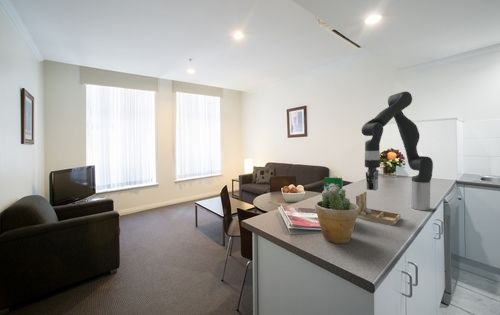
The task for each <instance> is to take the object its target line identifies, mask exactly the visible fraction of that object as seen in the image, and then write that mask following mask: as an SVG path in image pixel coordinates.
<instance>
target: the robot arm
mask: <svg viewBox="0 0 500 315" xmlns="http://www.w3.org/2000/svg"><path fill="white" fill-rule="evenodd" d="M412 102H413V95H412V94H411V93H410V92H409V91H401V92H397V93H395V94H391V95H390V96H388V98H387V105H388V107H386V108H384V109H382V110H381V111H380V112H379V113H378V114H377V115H376V116H374V117H373V118H371V119H370V120H368V121H367V122H365V123H364V124H363V125H362V127H361V133H362V135H363V136H365V137H371V136H372V137H371V139H369V140H366V141H365V143H364V167H365V168H367V171H366V172H365V178H366V179H365V180H366V183H367V182H368V186H369V191H374V190H373V180H374V179H378V180H379V172H380V171H379V169H377V168H380V167H381V151H380V144H381V140H382V136H383V133H384V127H385V126H386V125H387V124H389V122H390V121H391V120H392V119H394V121H395V123H396V126H397V129H398V132H399V135H400V138H401V140H402V144H403V147H404V150H405V154H406V158H407V163H408V166H409V168H410V169H411V170H412V171H418V174H417V175H414V176H412V177H411V209H414V210H419V211H430V209H431V182H432V178H433V170H434V161H433V159H432V158H431V157H429V156H420V155H419V154H418V150H417V149H418V148H417V146H418V143H419V141H420V132H419V129H418V126H417V125H416V124H415V122H413V121H412V120H411V119H409V117H407V116H406V114H404V113H403V110H405V109H406V108H408V107H409V106H411V105H412Z"/></svg>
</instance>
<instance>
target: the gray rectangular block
mask: <svg viewBox="0 0 500 315" xmlns="http://www.w3.org/2000/svg"><path fill="white" fill-rule="evenodd" d="M366 190H367V191H368V190H369V186H368V182H367V181H366ZM378 190H379V178H378V179H374V180H373V190H372V191H378ZM369 191H370V190H369Z"/></svg>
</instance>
